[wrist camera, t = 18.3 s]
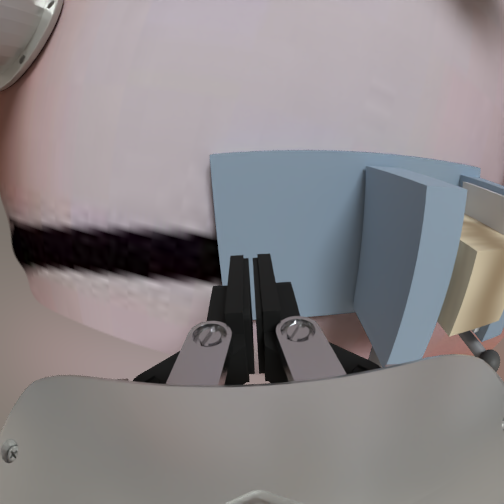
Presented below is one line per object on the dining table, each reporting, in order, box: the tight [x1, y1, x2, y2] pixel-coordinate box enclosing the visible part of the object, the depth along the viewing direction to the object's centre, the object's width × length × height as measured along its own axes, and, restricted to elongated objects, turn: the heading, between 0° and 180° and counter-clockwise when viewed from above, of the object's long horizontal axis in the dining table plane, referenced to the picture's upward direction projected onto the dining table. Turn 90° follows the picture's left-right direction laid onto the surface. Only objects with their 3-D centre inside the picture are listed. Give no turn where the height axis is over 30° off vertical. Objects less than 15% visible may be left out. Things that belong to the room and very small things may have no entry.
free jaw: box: [353, 166, 467, 368], centre depth 15 cm, size 3×14×7 cm, turn 3°
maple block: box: [437, 214, 504, 336], centre depth 14 cm, size 5×5×8 cm
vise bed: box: [210, 150, 504, 372], centre depth 14 cm, size 21×14×10 cm
